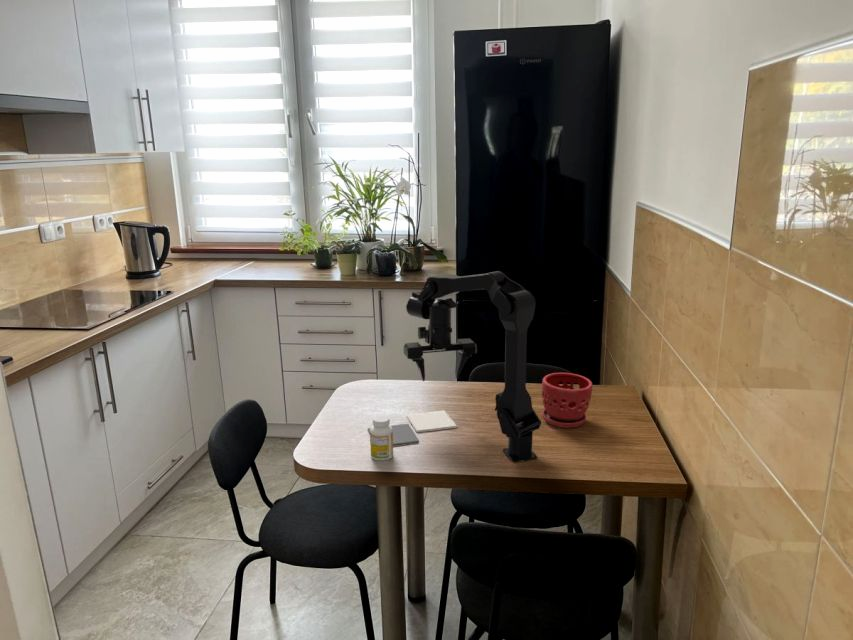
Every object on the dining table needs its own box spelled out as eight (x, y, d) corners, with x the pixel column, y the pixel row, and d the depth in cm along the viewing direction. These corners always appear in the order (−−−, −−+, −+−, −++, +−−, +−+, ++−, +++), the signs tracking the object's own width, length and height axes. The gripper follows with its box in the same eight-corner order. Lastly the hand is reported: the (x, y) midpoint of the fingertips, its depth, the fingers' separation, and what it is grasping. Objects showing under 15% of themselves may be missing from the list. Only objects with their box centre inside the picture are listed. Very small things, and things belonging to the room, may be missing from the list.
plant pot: (537, 428, 169) (539, 385, 166) (543, 410, 182) (545, 370, 179) (588, 434, 166) (591, 390, 163) (591, 415, 178) (593, 374, 175)
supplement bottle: (381, 449, 158) (380, 412, 155) (397, 455, 155) (397, 417, 152) (366, 456, 154) (365, 419, 151) (382, 463, 151) (381, 425, 148)
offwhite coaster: (456, 427, 170) (456, 425, 170) (416, 432, 167) (416, 430, 167) (444, 412, 180) (444, 410, 180) (406, 416, 177) (406, 414, 177)
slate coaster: (419, 442, 161) (419, 440, 161) (376, 448, 158) (376, 446, 158) (408, 425, 171) (408, 423, 171) (367, 430, 168) (367, 428, 168)
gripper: (464, 313, 177) (464, 366, 181) (398, 317, 172) (399, 372, 176) (478, 323, 166) (477, 379, 170) (407, 328, 162) (408, 386, 166)
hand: (440, 379), depth 171 cm, fingers open, 9 cm apart
